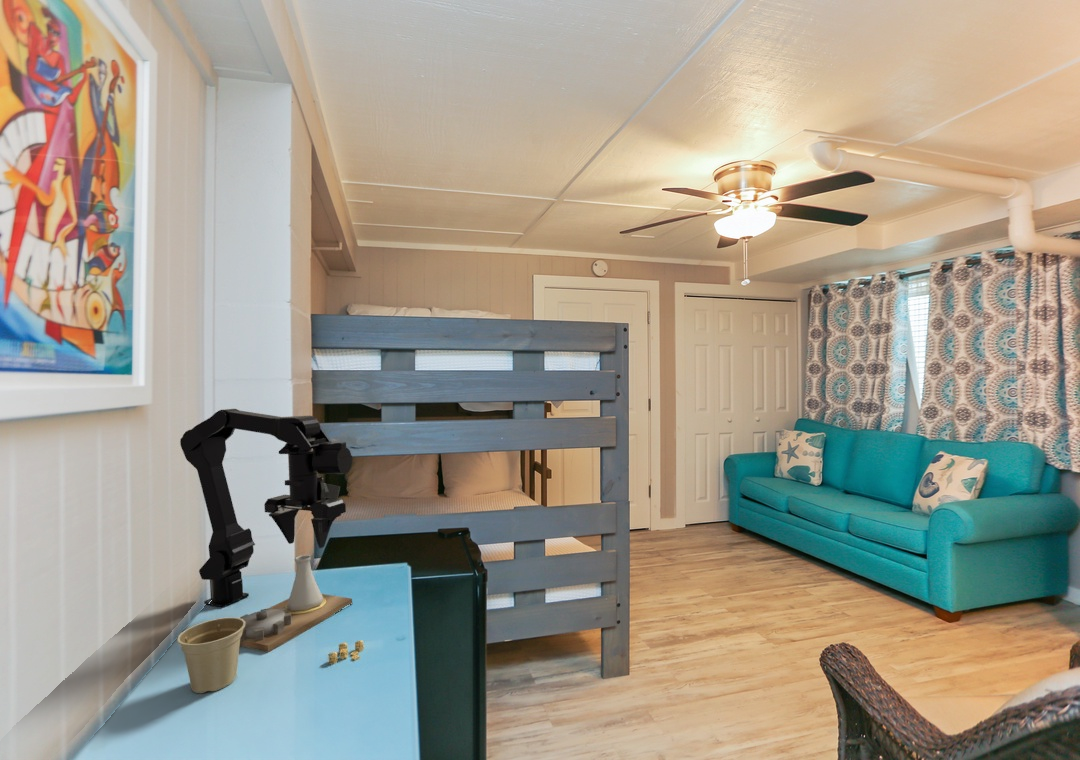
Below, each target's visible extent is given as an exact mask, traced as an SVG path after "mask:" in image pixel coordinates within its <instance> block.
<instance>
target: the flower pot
mask: <svg viewBox="0 0 1080 760" xmlns="http://www.w3.org/2000/svg"><path fill="white" fill-rule="evenodd" d="M244 627H245V621H244V620H243V619H241V618H240V617H233V616H232V617H231V616H230V617H229V616H228V617H220V618H215V619H209V620H206V621H203V622H200V623H198V624H194V625H193V626H190V627H188V628H187V629H185V630H184V631H181V633H180V634H179V635H178V636H177V639H176V641H177V643H178V644H179V645H180V648H181V651H182V652H183V654H184V659H185V663H186V669H187V673H188V677H189V681H190V687H191V690H192V692H193V693H196V694H205V693H206V692H217V691H220V690H222V689H223V688H226V687H228V686H229V685H231V684H232V683H233V682H234V681H235V678H236V677H237V673H238V662H239V653H240V646H239V645H240V637H241V636H242V632H243V629H244Z"/></svg>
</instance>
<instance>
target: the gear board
mask: <svg viewBox="0 0 1080 760" xmlns="http://www.w3.org/2000/svg"><path fill="white" fill-rule="evenodd" d="M321 594H322V596H323V598H324V600H323V601H322V603H321V605H318V606H315V607H312V608H310V609H306V610H298V611H291V610H289V609H288V608H286V607H287V604H288V600H289V598H287V599H285V600H283V601H281V602H279V603H277V604H275V605H273V606H270V607H267V608H263V609H260V610H259V611H255V612H252V613H249V614H244V615H242V616H239V618H241V619H243V620H244V621H245V627H244V629H243V632H242V636H241V637H240V645H239V647H244V648H248V649H252V650H257V651H262V652H265V653H269V652H272V651H273V650H275V649H277V648H279V647H281V646H282V645H284V644H285V643H287V642H289V641H290V640H292V639H294V638H295V637H297V636H299V635H301V634H303V633H304V632H307V631H308V630H309V629H312V628H313V627H315V626H317V625H319V624H320V623H322V622H324V621H326V620H327V619H329V618H330V616H331V617H332V615H333V614H334V613H336V612H338V611H339V610H341V609H342V608H344V607H345V606H347V605H349V604H351V603H352V604H353V598H350V597H344V596H338V595H330V594H325V593H321ZM341 611H342V610H341ZM338 613H339V612H338ZM336 614H337V613H336ZM334 615H335V614H334ZM334 615H333V616H334Z"/></svg>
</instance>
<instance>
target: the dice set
mask: <svg viewBox="0 0 1080 760" xmlns="http://www.w3.org/2000/svg"><path fill="white" fill-rule="evenodd" d="M354 649H355V650H354V651H352V652H351V653H350V655H352V656H351V660H352V661H357V660H360V659H361V656H360V655H359V651H360V652H362V651H364V650H363V649H365V648H364V640H362V639H360V640H357V641H355V642H354ZM348 650H349V649H348V643H347V642H342V643H339V644H338V652H336V651H334V652H329V654H328V664H329V665H334V663H335V664H336V662H337V663H338V660H339V659H338V658H339V657H340V660H341V659H342V660H345V659H344V658H347V659H348V655H349V651H348ZM339 653H340V654H339ZM338 654H339V657H338Z"/></svg>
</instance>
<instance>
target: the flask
mask: <svg viewBox="0 0 1080 760" xmlns="http://www.w3.org/2000/svg"><path fill="white" fill-rule="evenodd" d="M311 559H312V555H310V554H302V555H299V556H296V557H295V558H294V561H295V563H296V570H295V577H294V581H293V585H292V588H291V592H290V593H289V594H290V595H289V598H288V599H289V600H288V604H287V607H286V608H288V609H289V610H291V611H298V610H306V609H310V608H312V607H315V606H318V605H321V603H322V601H323V600H324V598H323V596H322V594H323V593H322V592H321V590H320V588H319V586H318V584H317V582H316V578H315V576H314V574H313V571H312V567H311Z"/></svg>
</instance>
